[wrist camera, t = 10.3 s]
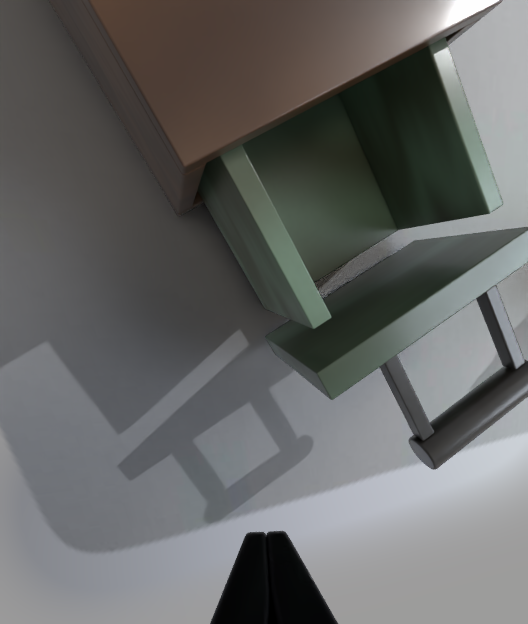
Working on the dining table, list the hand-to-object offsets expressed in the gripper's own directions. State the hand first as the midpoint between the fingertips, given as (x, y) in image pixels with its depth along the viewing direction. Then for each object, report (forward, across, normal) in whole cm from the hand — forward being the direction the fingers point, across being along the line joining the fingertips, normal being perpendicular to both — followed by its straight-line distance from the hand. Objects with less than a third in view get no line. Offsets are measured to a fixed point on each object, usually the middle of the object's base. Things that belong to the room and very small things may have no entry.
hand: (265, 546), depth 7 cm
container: (+13, -4, -5) cm, 14 cm away
